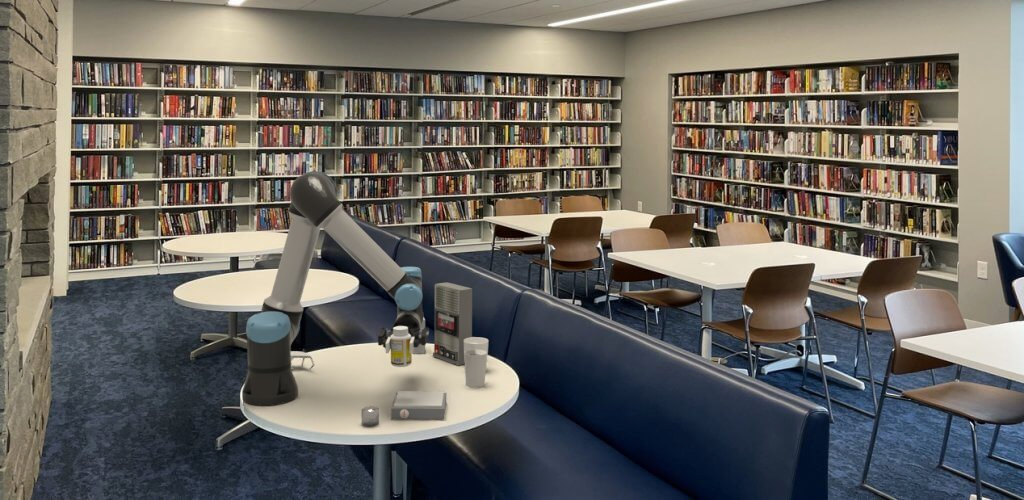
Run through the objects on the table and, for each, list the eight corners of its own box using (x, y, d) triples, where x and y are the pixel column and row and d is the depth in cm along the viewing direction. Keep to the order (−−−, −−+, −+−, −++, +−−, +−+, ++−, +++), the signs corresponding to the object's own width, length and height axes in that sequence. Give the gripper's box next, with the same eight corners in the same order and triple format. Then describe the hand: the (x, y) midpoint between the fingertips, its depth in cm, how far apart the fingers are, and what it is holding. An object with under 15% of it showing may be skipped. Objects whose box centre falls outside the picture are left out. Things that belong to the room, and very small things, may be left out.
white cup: (484, 375, 247) (485, 344, 246) (460, 373, 249) (460, 342, 247) (490, 368, 255) (490, 338, 253) (466, 366, 256) (467, 336, 255)
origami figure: (276, 371, 248) (275, 356, 247) (290, 363, 256) (290, 349, 255) (309, 375, 245) (309, 359, 244) (323, 367, 252) (323, 352, 252)
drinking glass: (471, 389, 233) (471, 356, 232) (460, 383, 239) (460, 351, 237) (490, 385, 237) (490, 353, 235) (478, 379, 242) (479, 348, 241)
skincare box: (411, 349, 275) (411, 315, 273) (423, 348, 276) (423, 315, 274) (413, 354, 269) (413, 319, 267) (425, 353, 270) (425, 319, 268)
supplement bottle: (408, 360, 216) (407, 324, 214) (414, 366, 211) (413, 329, 209) (388, 363, 214) (387, 326, 212) (393, 368, 209) (393, 331, 207)
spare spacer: (360, 427, 202) (360, 412, 202) (363, 420, 207) (362, 406, 206) (377, 427, 203) (377, 412, 202) (380, 420, 207) (379, 406, 206)
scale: (390, 420, 207) (390, 406, 207) (396, 402, 221) (396, 390, 220) (444, 420, 208) (444, 407, 207) (446, 402, 221) (446, 390, 221)
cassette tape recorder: (432, 356, 266) (432, 284, 263) (446, 353, 270) (447, 282, 267) (457, 366, 256) (458, 290, 252) (472, 362, 260) (472, 288, 256)
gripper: (439, 338, 230) (434, 361, 207) (375, 339, 229) (363, 362, 206) (439, 313, 229) (434, 334, 206) (374, 314, 228) (363, 334, 205)
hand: (399, 348), depth 206 cm, fingers closed on supplement bottle, 6 cm apart
